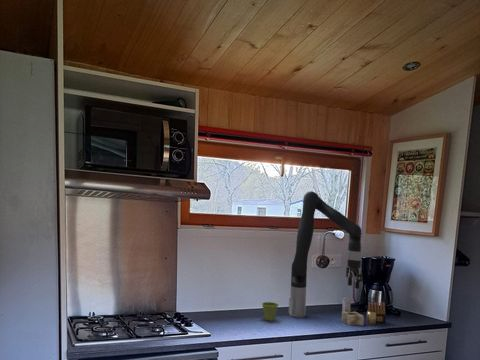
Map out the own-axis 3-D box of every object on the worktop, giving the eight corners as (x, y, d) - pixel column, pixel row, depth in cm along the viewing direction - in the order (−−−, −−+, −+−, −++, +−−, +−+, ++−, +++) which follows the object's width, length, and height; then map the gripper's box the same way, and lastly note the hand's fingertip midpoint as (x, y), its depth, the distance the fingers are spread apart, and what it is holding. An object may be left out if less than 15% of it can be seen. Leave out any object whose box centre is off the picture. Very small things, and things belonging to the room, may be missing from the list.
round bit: (369, 325, 212) (369, 313, 213) (364, 323, 217) (365, 310, 218) (377, 325, 213) (377, 313, 214) (372, 323, 218) (373, 310, 219)
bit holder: (348, 325, 211) (349, 316, 212) (341, 320, 220) (341, 311, 220) (363, 325, 213) (363, 316, 213) (355, 320, 222) (356, 311, 222)
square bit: (344, 319, 222) (345, 298, 223) (342, 317, 226) (342, 297, 227) (350, 319, 223) (350, 298, 224) (347, 317, 226) (347, 297, 227)
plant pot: (280, 321, 212) (281, 305, 213) (266, 322, 208) (267, 306, 209) (272, 316, 221) (272, 301, 222) (258, 317, 217) (258, 302, 217)
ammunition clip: (384, 322, 221) (384, 301, 222) (385, 323, 219) (386, 302, 220) (366, 321, 220) (367, 301, 221) (368, 322, 218) (368, 301, 219)
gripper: (342, 257, 226) (341, 284, 225) (354, 260, 212) (353, 289, 211) (354, 257, 228) (353, 284, 226) (366, 260, 214) (365, 289, 212)
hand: (353, 287), depth 219 cm, fingers open, 8 cm apart
